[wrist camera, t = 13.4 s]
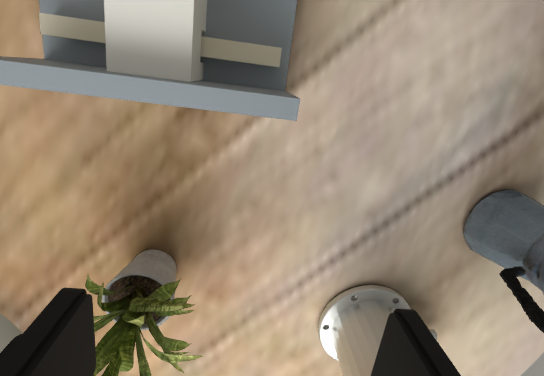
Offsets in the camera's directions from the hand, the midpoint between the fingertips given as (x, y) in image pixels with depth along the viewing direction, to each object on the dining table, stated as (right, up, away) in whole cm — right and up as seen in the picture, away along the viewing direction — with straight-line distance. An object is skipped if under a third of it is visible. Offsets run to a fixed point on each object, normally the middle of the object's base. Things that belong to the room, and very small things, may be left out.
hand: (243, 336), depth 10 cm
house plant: (-13, -6, +30) cm, 33 cm away
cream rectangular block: (-8, +21, +18) cm, 29 cm away
